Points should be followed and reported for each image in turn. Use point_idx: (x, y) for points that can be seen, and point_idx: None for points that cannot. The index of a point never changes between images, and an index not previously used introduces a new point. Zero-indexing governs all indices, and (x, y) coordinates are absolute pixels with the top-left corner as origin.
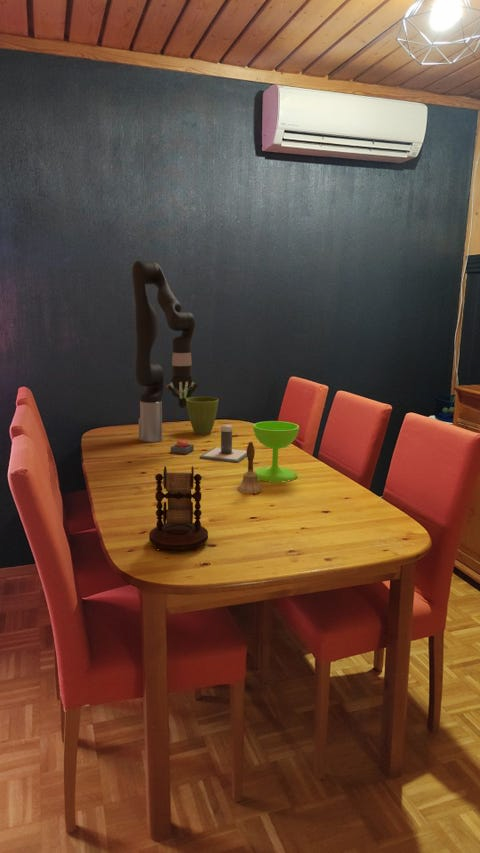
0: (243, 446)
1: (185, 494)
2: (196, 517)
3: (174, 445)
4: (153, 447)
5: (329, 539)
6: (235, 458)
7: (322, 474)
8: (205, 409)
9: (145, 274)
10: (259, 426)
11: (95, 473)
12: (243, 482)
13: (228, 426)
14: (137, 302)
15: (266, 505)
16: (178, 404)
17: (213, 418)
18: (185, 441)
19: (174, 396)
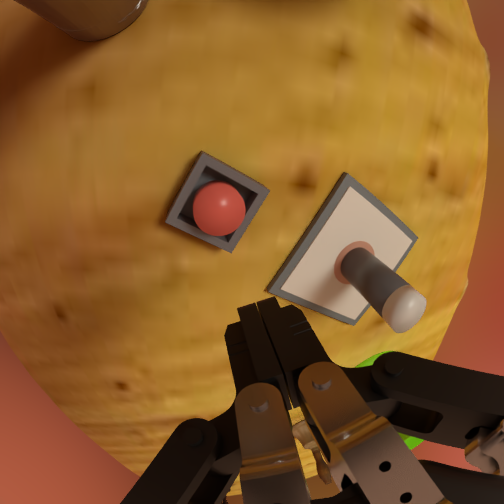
0: (422, 158)
1: None
2: (223, 501)
3: (182, 198)
4: (98, 121)
5: (316, 467)
6: (355, 312)
7: (424, 358)
8: None
9: None
10: (400, 436)
11: (35, 374)
12: (299, 440)
13: (408, 326)
14: None
15: (302, 448)
16: (227, 347)
17: None
18: (235, 211)
19: (188, 430)
